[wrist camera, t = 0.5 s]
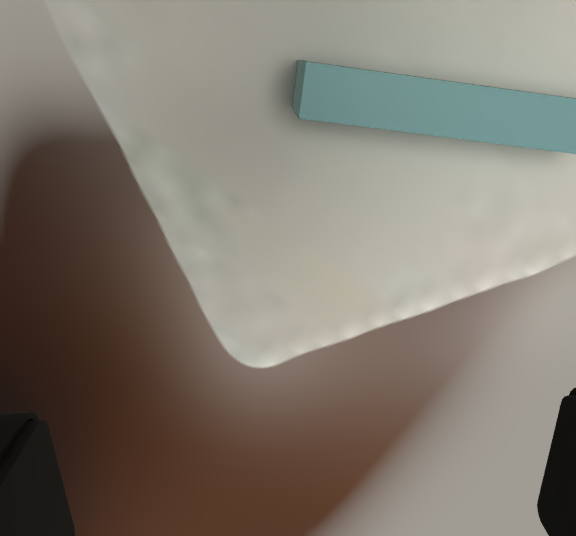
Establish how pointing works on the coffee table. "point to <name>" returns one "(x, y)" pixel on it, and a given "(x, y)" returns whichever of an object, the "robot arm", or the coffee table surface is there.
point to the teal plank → (434, 107)
